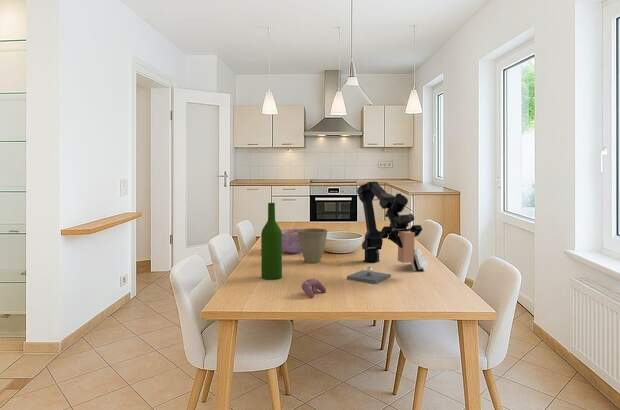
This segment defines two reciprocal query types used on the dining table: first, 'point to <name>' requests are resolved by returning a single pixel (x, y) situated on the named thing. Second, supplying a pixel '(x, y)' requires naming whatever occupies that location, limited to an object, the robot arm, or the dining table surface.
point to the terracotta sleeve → (406, 247)
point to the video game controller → (314, 284)
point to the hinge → (419, 261)
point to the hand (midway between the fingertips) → (407, 247)
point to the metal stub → (369, 271)
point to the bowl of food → (290, 241)
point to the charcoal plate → (374, 278)
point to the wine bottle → (271, 247)
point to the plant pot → (312, 243)
